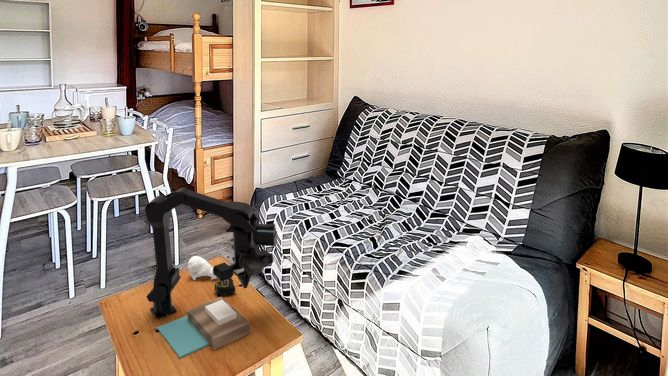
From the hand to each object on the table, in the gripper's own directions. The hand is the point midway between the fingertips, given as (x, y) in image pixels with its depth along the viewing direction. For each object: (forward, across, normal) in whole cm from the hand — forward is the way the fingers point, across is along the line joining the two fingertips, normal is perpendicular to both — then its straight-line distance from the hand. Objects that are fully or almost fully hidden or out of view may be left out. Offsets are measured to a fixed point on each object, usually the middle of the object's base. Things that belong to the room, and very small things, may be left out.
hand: (244, 287), depth 141 cm
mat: (+10, -20, +2) cm, 23 cm away
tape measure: (+11, +2, +17) cm, 20 cm away
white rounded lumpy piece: (+11, 0, +30) cm, 32 cm away
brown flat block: (+10, -10, 0) cm, 14 cm away
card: (+5, -9, 0) cm, 10 cm away
